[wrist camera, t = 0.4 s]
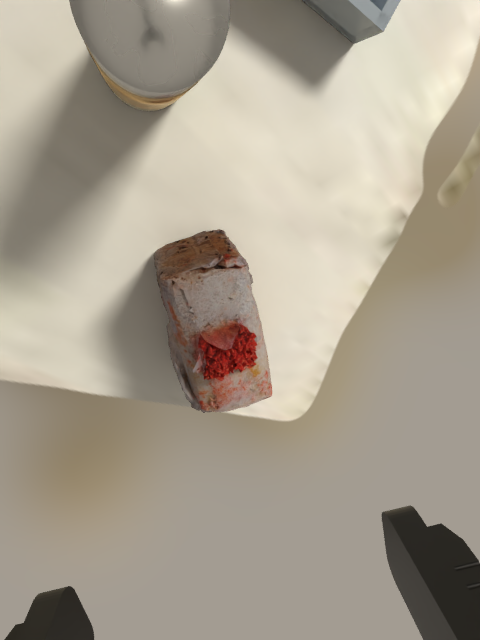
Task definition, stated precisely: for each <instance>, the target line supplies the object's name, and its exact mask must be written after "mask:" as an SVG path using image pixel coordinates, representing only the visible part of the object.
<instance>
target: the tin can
mask: <svg viewBox="0 0 480 640" xmlns="http://www.w3.org/2000/svg"><path fill="white" fill-rule="evenodd" d="M69 1H70V6H71V10H72V14H73V17H74V19H75V22H76V25H77V27H78V29H79V32H80V34H81V36H82V38H83V40H84V42H85V44H86V47H87V49H88V51H89V53H90V55H91V57H92V58H93V60H94V62H95V64H96V65H97V67H98V69H99V71H100V73H101V74H102V76H103V78H104V79H105V81H106V83H107V84H108V85H109V87H110V88H111V90H112V91H113V92H114V93H115V94H116V96H117V97H118V98H119V99H121V100H122V101H123V102H124V103H126V104H127V105H129V106H131V107H133V108H136V109H139V110H143V111H156V110H161V109H163V108H166V107H167V106H169V105H171V104H172V103H174V102H175V101H177V100H178V99H179V98H180V97H181V96H183V95H184V94H185V93H186V92H187V91H189V90H190V89H191V88H192V87H193V86H195V85H196V84H197V83H198V81H199V80H200V79H201V78H202V77H203V76H204V75H205V74H206V73H207V72H208V71H209V70H210V69H211V68H212V66H213V65H214V63H215V62H216V60H217V59H218V57H219V55H220V53H221V51H222V48H223V46H224V43H225V40H226V36H227V32H228V28H229V20H230V0H69Z"/></svg>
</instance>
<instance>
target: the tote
mask: <svg viewBox="0 0 480 640" xmlns="http://www.w3.org/2000/svg"><path fill="white" fill-rule="evenodd" d="M302 1H304V2H305V3H306V4H307V5H308V6H310V7H311V8H312V9H313V10H314V11H315V12H317V13H318V14H319V15H320V16H321V17H323V18H324V19H325V20H326V21H327V22H329V23H330V24H331V25H332V26H333V27H335V28H336V29H337V30H338V31H339V32H340V33H342V34H343V35H344V36H345V37H346V38H348V39H349V40H350V41H351V42H352V43H354V44H355V43H358V42H360V41H362V40H365V39H367V38H370V37H372V36H374V35H377V34H379V33H381V32H384V30H385V28H386V26H387V24H388V22H389V21H390V19H391V17H392V15H393V13H394V11H395V9H396V8H397V6H398V4H399V2H400V0H302Z"/></svg>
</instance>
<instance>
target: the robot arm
mask: <svg viewBox="0 0 480 640" xmlns="http://www.w3.org/2000/svg"><path fill="white" fill-rule="evenodd" d="M382 522H383V530H384V538H385V546H386V554H387V559H388V563H389V566H390V570H391V572H392V575H393V578H394V580H395V582H396V585H397V587H398V589H399V591H400V593H401V595H402V597H403V599H404V601H405V603H406V605H407V607H408V609H409V611H410V613H411V615H412V617H413V619H414V621H415V623H416V625H417V627H418V629H419V631H420V633H421V636H422V638H423V640H480V563H479V561H478V559H477V558H476V556H475V555H474V554H473V552H472V551H471V550H470V548H469V547H468V546H467V544H466V543H465V542H464V540H463V539H462V538H460V537H458V536H457V535H456V534H455V533H453V532H452V531H451V530H449V529H448V528H446V527H445V526H444V525H442V524H437V525H433V526H429V527H427V526H426V524H425V523H424V522H423V520H422V518H421V517H420V516H419V514H418V513H417V511H416V510H415V509H414V508H413V507H412V506H407V507H402V508H398V509H394V510H390V511H385V512H383V513H382ZM5 640H94V632H93V628H92V625H91V623H90V620H89V619H88V616H87V614H86V612H85V610H84V608H83V606H82V604H81V602H80V600H79V598H78V596H77V594H76V592H75V590H74V589H73V588H72V587H70V586H68V587H64V588H60V589H56V590H52V591H47V592H43V593H40V594H38V595H37V596H36V597H35V599H34V601H33V603H32V605H31V607H30V610H29V612H28V614H27V617H26V619H25V621H24V623H22V624H17V625H15V626H14V628H13V629H12V630H11V632H10V633H9V634H8V636H7V637H6V639H5Z"/></svg>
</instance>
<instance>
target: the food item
mask: <svg viewBox="0 0 480 640" xmlns="http://www.w3.org/2000/svg"><path fill="white" fill-rule="evenodd" d="M154 259H155V267H156V269H157V281H158V285H159V287H160V293H161V298H162V300H163V304H164V306H165V308H166V311H167V313H168V316H169V323H168V325H167V330H168V331H167V332H168V338H169V342H168V344H169V347H170V349H171V359H172V362H173V365H174V369H175V371H176V372H177V376H178V379H179V382H180V384H181V386H182V390H183V391H184V392H185V395H186V399H187V400H188V401H189V402H190V403H191V407H192V408H194V409H196V410H201V411H202V412H203V413H205V412H212V411H214V412H224V411H230V410H234V409H237V408H241V407H247V406H249V405H250V404H253V403H256V402H258V401H261V400H263V399H266V398H268V397H271V396H272V385H271V378H270V370H269V363H268V356H267V351H266V346H265V341H264V336H263V331H262V325H261V321H260V318H259V314H258V309H257V305H256V302H255V299H254V297H253V295H252V288H251V284H252V283H253V279H252V275H251V274H250V273H249V271H248V270H249V267H248V263H247V262H246V260H245V259H244V258H243V257H242V256H241V255H240V253H239V252H238V250H237V248H236V246H235V245H234V244H233V243H232V242H231V241H230V240H229V238H228V237H227V236H226V234H225V232H224V231H223V230H219V229H218V230H213V231H208V232H206V231H203V232H201V233H198V234H196V235H194V236H192V237H189V238H186V239H182V240H179V241H176V242H173V243H170V244H167V245H165V246H164V247H162V248H160V249H158V250H157V251H156V252H155V253H154Z"/></svg>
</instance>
